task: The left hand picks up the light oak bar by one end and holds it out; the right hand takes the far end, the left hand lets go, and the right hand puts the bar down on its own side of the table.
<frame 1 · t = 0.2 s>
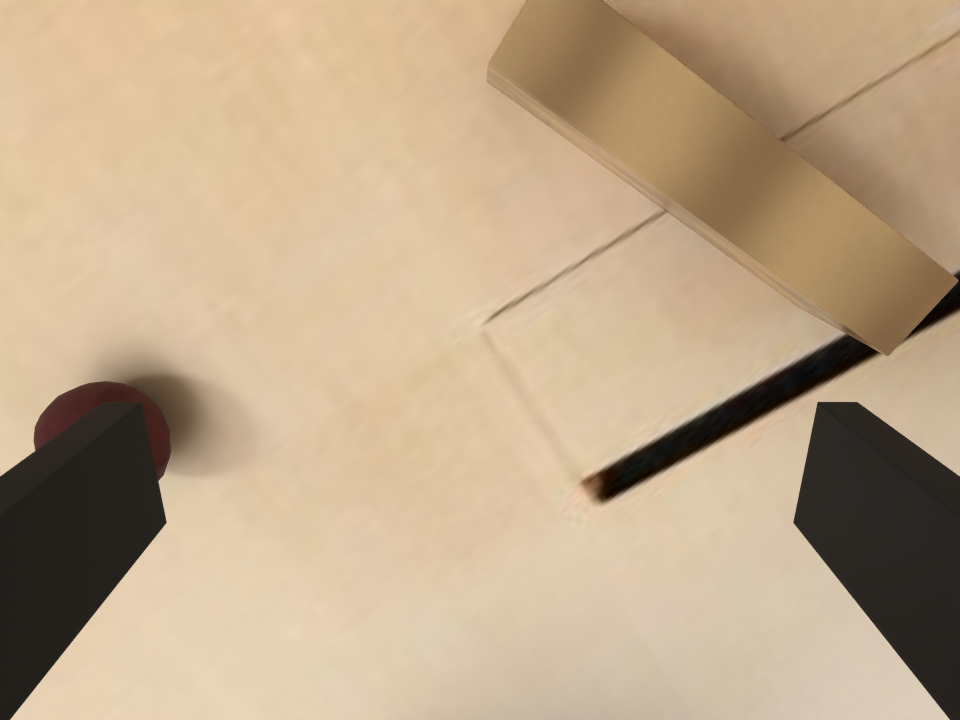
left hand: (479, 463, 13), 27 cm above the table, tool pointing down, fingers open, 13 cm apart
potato: (136, 418, 42), on the table
bar: (677, 167, 37), on the table
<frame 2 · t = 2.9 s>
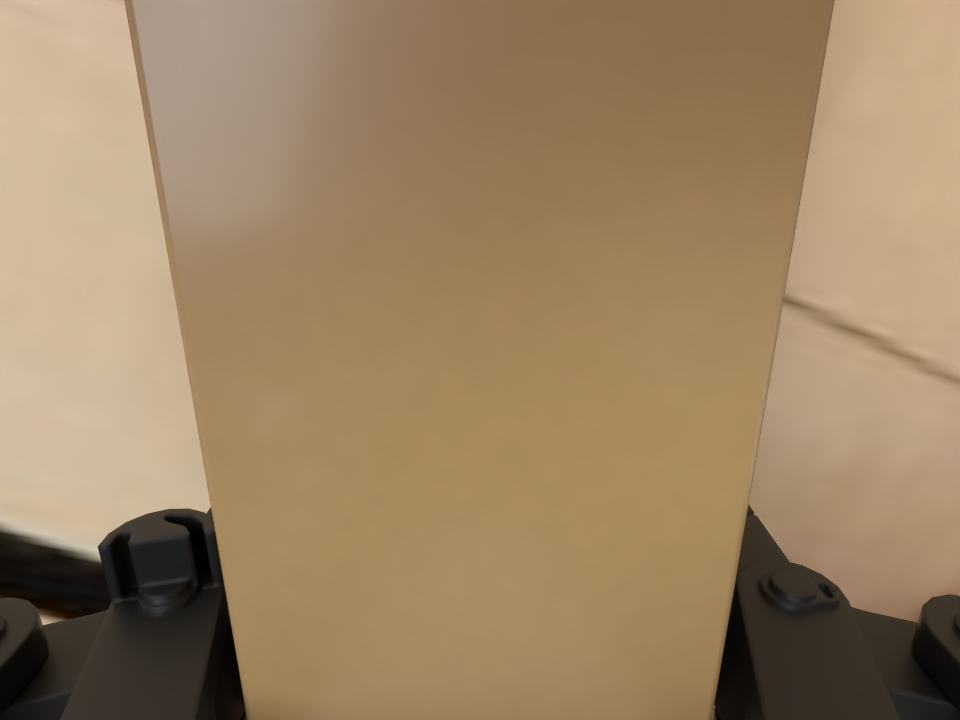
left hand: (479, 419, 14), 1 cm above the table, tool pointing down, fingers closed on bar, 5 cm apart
bar: (479, 45, 12), on the table, touching left hand
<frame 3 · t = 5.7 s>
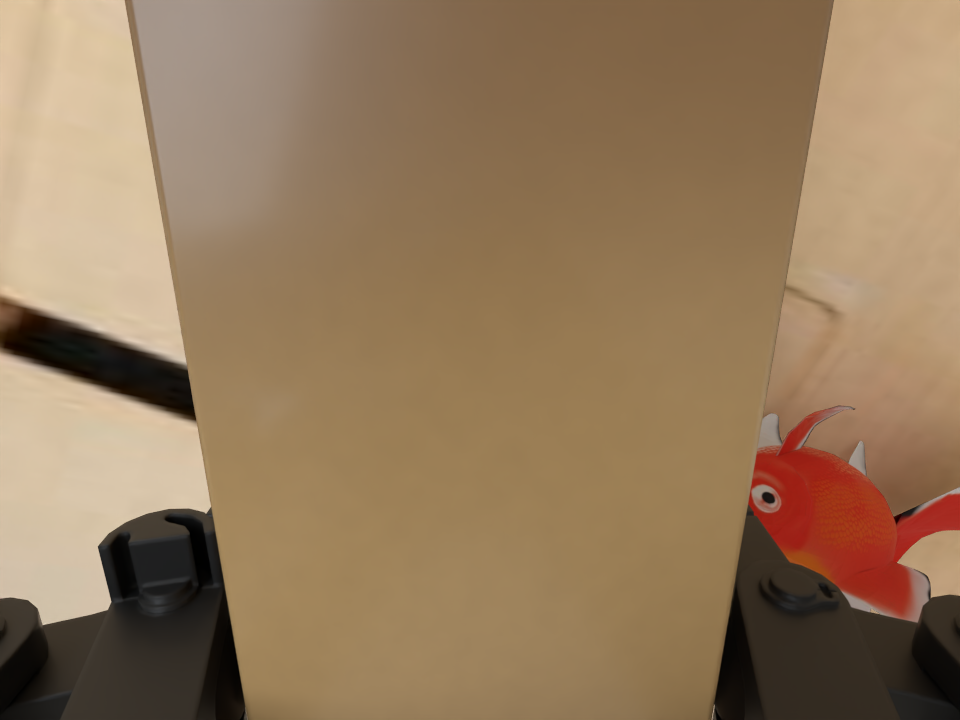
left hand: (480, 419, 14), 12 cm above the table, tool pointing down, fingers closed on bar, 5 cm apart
fish: (832, 463, 28), on the table
bar: (479, 45, 12), point 11 cm above the table, touching left hand
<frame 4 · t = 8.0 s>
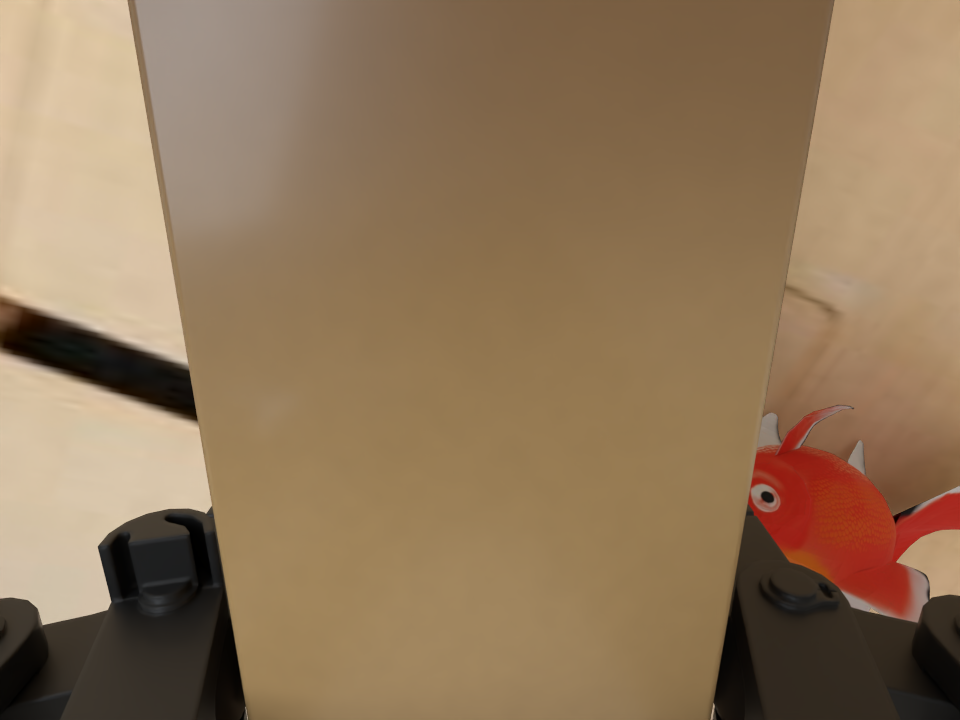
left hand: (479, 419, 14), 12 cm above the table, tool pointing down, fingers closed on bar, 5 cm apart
fish: (831, 462, 28), on the table
bar: (481, 45, 12), point 11 cm above the table, touching left hand, right hand
when the left hand's fingers open (12 cm above the table, at t = 8.8 s): bar stays where it is, held by the right hand.
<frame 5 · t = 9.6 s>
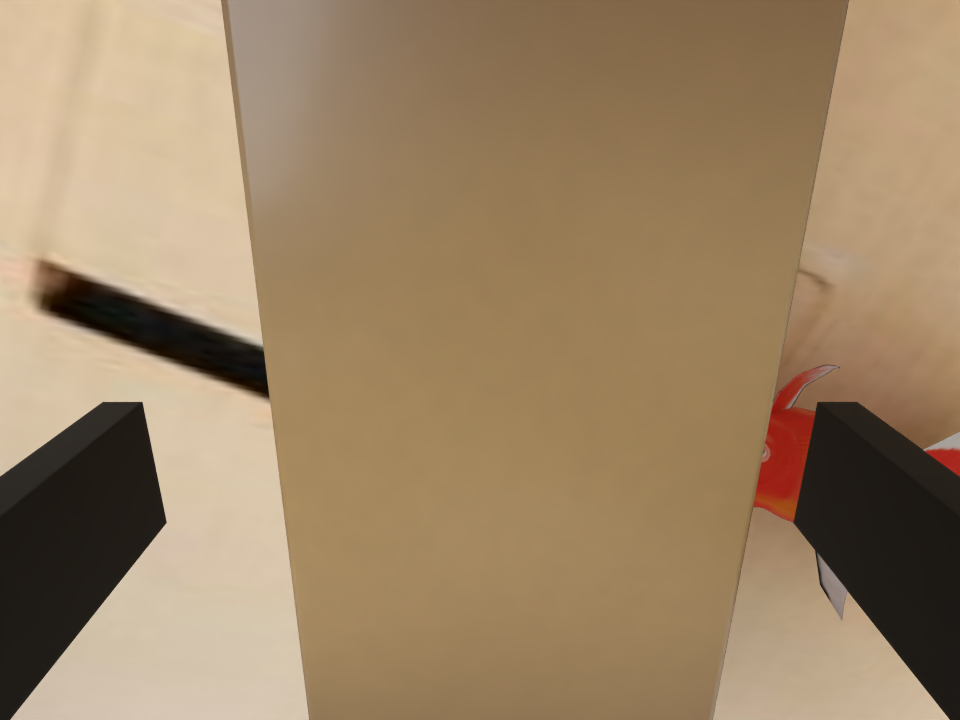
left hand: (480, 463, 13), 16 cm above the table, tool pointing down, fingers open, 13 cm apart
fish: (823, 428, 30), on the table
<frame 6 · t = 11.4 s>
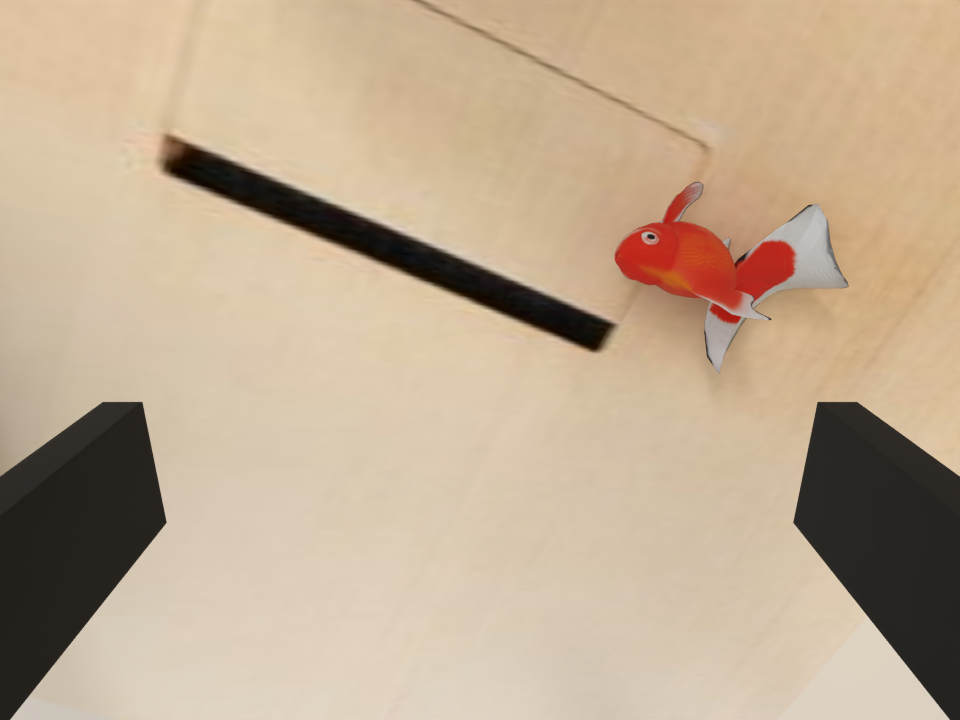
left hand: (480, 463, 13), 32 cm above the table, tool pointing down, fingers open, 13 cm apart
fish: (711, 255, 43), on the table
when the right hand's fingers open (5 cm above the table, at t = 15.1 s): bar drops 1 cm, on the table.
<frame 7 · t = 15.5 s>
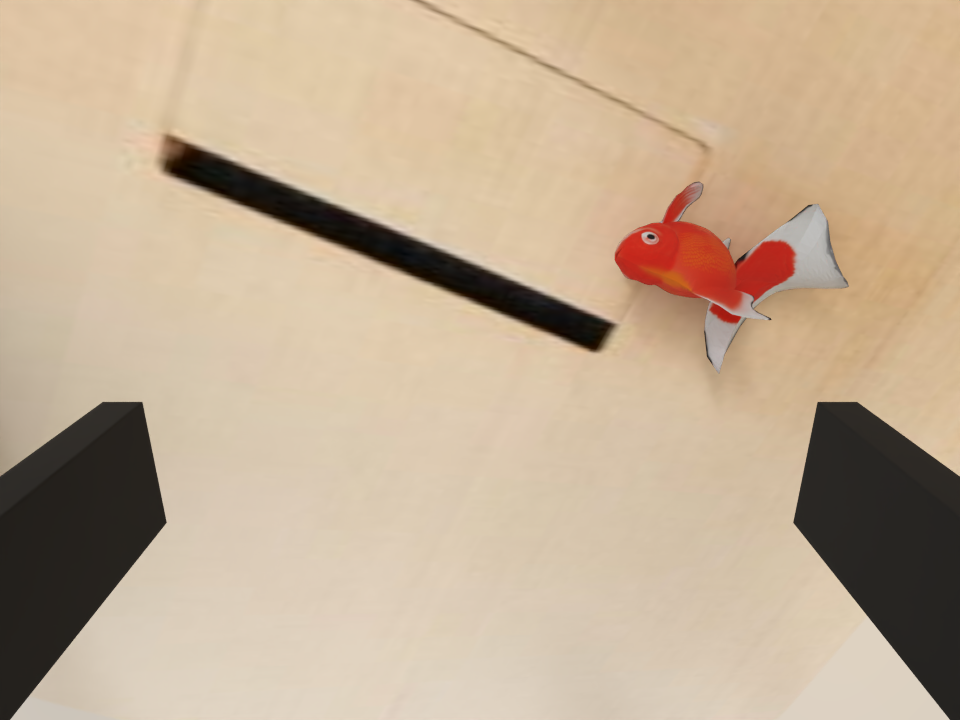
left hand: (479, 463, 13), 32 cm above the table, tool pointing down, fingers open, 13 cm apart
fish: (711, 255, 43), on the table
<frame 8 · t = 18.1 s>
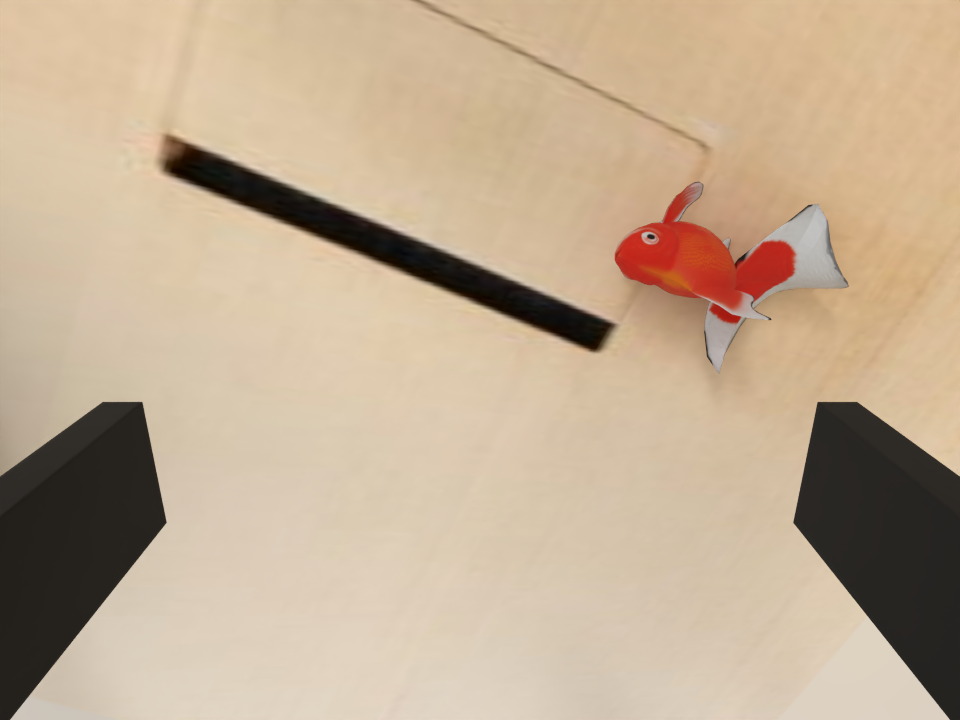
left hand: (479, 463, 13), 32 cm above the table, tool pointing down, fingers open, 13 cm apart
fish: (711, 255, 43), on the table
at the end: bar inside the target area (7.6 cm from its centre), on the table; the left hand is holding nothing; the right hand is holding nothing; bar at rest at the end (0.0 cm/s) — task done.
